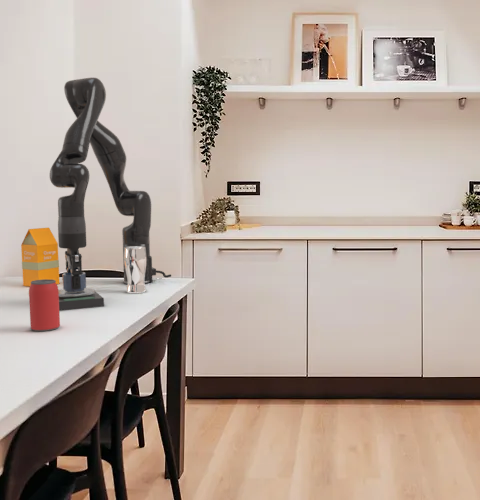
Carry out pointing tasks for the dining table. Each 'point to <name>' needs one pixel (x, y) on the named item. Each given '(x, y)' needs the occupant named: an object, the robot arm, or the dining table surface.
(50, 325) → the beer can
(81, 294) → the platter
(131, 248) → the beer glass
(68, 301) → the scale
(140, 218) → the robot arm
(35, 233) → the orange juice
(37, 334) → the dining table surface
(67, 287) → the cup
